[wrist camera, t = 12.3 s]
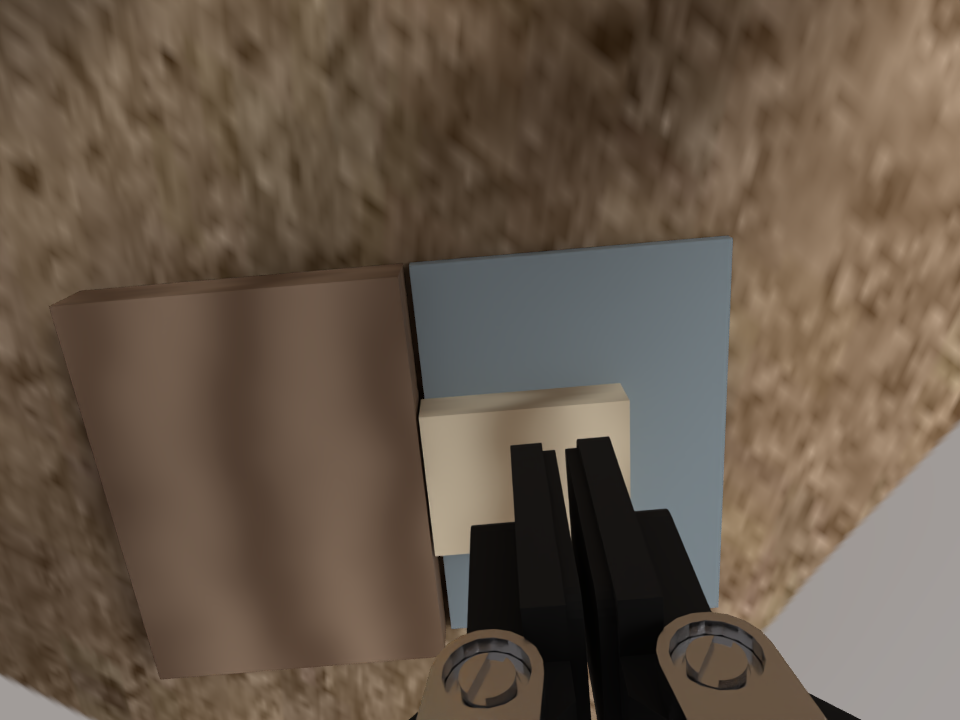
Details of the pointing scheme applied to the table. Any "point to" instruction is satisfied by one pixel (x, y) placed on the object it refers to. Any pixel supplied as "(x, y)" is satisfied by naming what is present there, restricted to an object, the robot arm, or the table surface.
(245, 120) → the table surface
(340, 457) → the block
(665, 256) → the mat
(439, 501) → the tile
